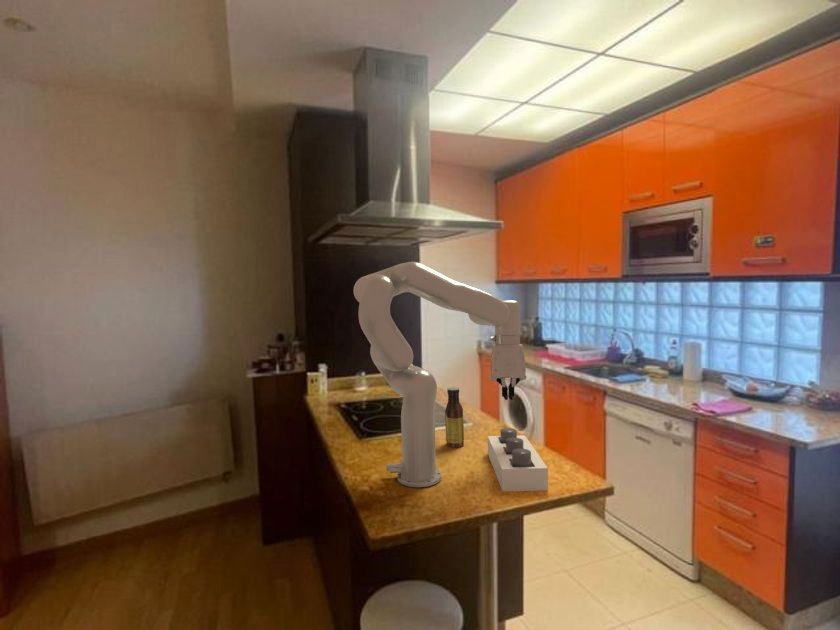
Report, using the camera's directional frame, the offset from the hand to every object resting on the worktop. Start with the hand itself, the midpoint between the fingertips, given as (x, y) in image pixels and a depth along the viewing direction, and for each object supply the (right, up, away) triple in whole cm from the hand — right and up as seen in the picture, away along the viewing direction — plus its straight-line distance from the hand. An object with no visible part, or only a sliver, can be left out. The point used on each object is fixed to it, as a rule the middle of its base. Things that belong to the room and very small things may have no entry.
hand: (508, 398), depth 135 cm
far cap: (0, -16, +1) cm, 16 cm away
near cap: (0, -17, -17) cm, 24 cm away
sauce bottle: (-15, -19, +14) cm, 28 cm away
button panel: (0, -20, -8) cm, 21 cm away
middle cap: (0, -16, -8) cm, 18 cm away
